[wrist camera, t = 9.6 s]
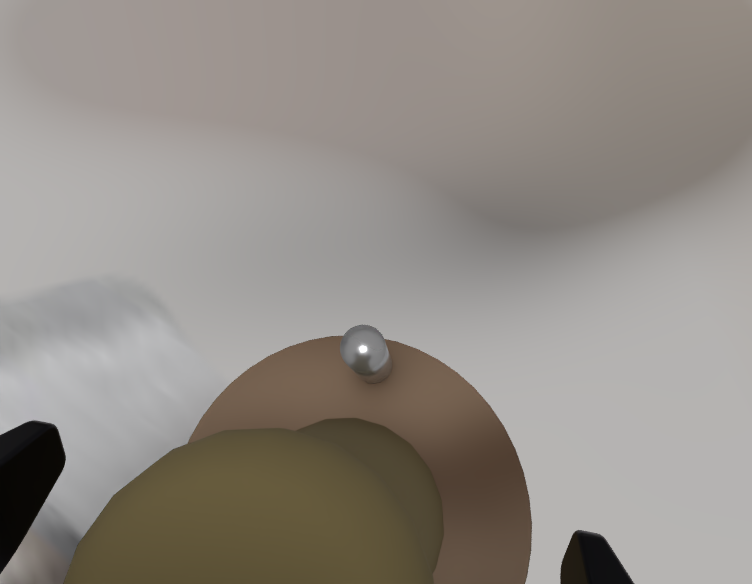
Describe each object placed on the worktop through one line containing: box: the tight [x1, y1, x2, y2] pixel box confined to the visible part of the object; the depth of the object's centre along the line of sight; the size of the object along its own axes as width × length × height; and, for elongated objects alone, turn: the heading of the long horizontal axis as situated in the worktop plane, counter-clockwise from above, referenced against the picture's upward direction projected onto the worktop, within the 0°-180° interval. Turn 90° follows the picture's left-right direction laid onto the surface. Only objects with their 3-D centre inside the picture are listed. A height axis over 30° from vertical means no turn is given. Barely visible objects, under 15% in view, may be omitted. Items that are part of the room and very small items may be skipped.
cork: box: [63, 418, 444, 584], centre depth 12 cm, size 6×6×11 cm
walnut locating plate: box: [188, 325, 532, 584], centre depth 16 cm, size 11×11×4 cm
